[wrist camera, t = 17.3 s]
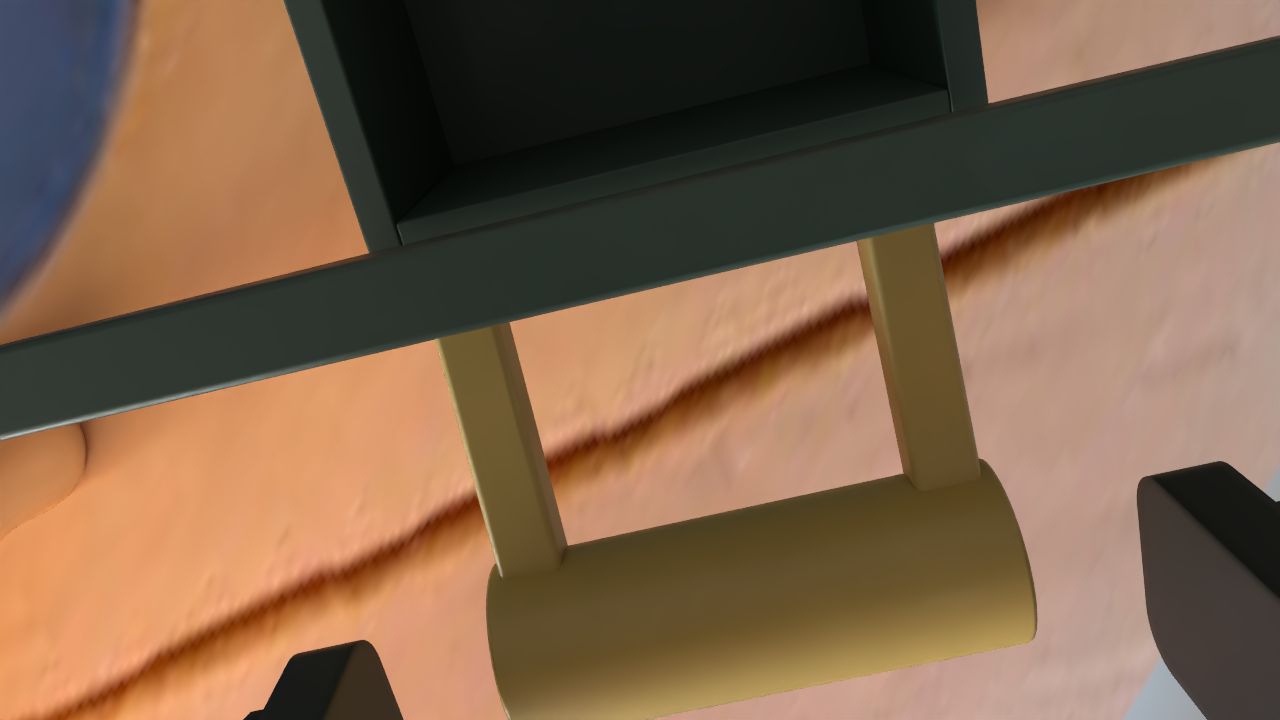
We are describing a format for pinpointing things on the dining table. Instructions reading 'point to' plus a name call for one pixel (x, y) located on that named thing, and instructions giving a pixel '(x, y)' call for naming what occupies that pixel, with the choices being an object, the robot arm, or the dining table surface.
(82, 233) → the dining table surface
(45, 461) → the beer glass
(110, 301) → the dining table surface
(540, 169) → the open lidded box
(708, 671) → the lid
